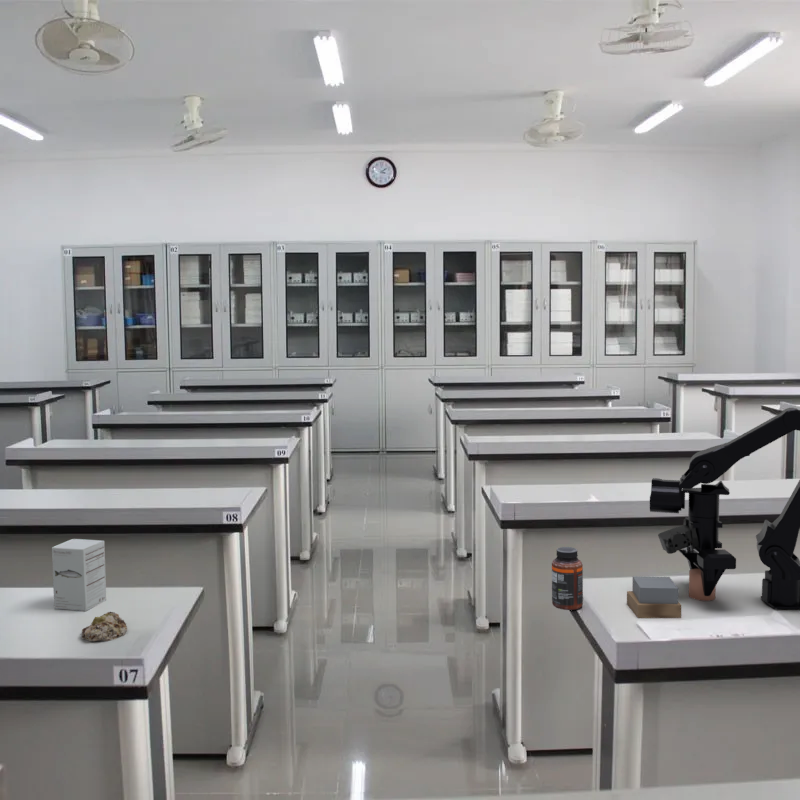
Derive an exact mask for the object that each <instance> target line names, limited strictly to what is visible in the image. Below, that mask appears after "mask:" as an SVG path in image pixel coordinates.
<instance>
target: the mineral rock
mask: <svg viewBox="0 0 800 800" xmlns="http://www.w3.org/2000/svg"><path fill="white" fill-rule="evenodd" d="M127 632H128V626H127V623H126V622H125V620H124V619H122V617H120V615H119V613H116V612H114V611H108V612H106V613H104V614H103V615H100V616H95V617H94V618H93V620H92V622H91V624H90V625H87V626H86V627H84V628H83V629H81V638H82V640H87V641H88V642H97V641H103V642H110V641H113V640H116V639H117V638H120V637H124V636H126V633H127Z"/></svg>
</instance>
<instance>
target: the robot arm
mask: <svg viewBox="0 0 800 800" xmlns="http://www.w3.org/2000/svg"><path fill="white" fill-rule="evenodd" d="M794 431H799V432H800V409H798V408H796V407H787V408H785V409H783V410H782V412H780V413H779V414H776V415H775V416H773V417H771V418H769V419H767V420H766V421H764V422H763V423H761V424H758V425H757V426H755V427H753V428H752V429H750V430H748V431H746V432H744V433H743V434H741V435H739V436H737V437H734V439H732V440H730V441H728V442H727V441H726V442H725V443H721V444H718V445H715V446H711V447H708V448H706V449H703V450H700V451H697V452H696V453H694V454H693V455H692V456H691V457H690V460H689V464H688V469H687V470H686V471H685V472H684V473H683V474H682V475H681V477H680V478H679V480H677V479H674V480H673V479H662V478H658V477H657V478H656V477H652V479H651V486H650V487H651V488H650V495H649V512H650V513H664V514H665V513H666V514H667V513H668V514H680V511H682V510H686V509H685V508H686V494H688V508H687V509H688V517H687V516H685V518H684V519H683V524H682V525H680V526H675V527H672V528H669V529H668V530H664V531H662V532H660V533H658V534H657V536H658V539H659V542H660V545H661V548H662V550H663V551H665V552H666V553H667V554H669V555H671V554H675V553H677V552H679V553H680V554H681V556H683V557H684V558H686V560H687V563H688V566H689V571H690V570H691V569H700V571H701V578H702V586H703V592H704V595H705V596H710V595H711V593H712V591H713V590H714V588H715V586H717V584H718V583H719V581H720V579H721V577H722V576H723V574H724V573H725V571H726V570H736V569H737V558H736V557H735V556H734V554H732V553H731V552H729V551H728V550H726V549H723V543H722V541H719V540H720V539H719V534H720V532H719V531H720V529H722V528H723V522H722V521H720V495H721V496H729V495H730V493H731V492H730V488H728V487H727V486H726V485H725V484H724V483H723V481H722V480H719V481H718V482H717V483H716V484H712V483H713V482H715V481H716V480H718V479H719V478H720V477H722V476H723V475H724V474H726V472H727V471H729V470H730V469H731V468H732V467H733V466H734V465H736V463H738V462H739V461H740V460H742V459H744V458H745V457H747V456H750V455H751V454H753V453H755V452H757V451H758V450H760V449H762V448H764V447H766V446H767V445H770V444H771V443H774V442H775V441H777V440H779V439H781V438H783V437H784V436H786V435H788V434H789V433H791V432H794ZM699 484H700V487H697V486H698V485H699ZM799 532H800V479H799V480H798V482H797V484H796V486H795V488H794V489H793V491H792V492H791V494H790V496H789V498H788V500H787V502H786V503H785V506H784V507H783V508H782V511H781V513H780V515H779V516H777V517H776V519H775V520H774V521H773V522H770V521H769V520H768V519H764V521H763V525H762V528H761V530H760V531H759V533H757V534H756V535H755V538H756V549H757V554H758V557H759V560H760V561H761V563H762V564H763V565H765V566H766V567H767V568H769V569H768V570H764V577H763V578H762V580H761V582H762V583H761V595H760V600H762V601H763V603H764V602H765V604H767V605H768V606H770V607H771V608H772V609H775V610H800V558H799V557H798V556H797V555H796V554H795V553H794V552H795V548H796V546H797V541H798V538H799V537H798V536H799Z"/></svg>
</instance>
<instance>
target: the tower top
mask: <svg viewBox="0 0 800 800" xmlns="http://www.w3.org/2000/svg"><path fill="white" fill-rule="evenodd" d="M631 591H633V593H634V595H635V596H636V598H637V600H638V601H639V603H646V604H678V602H679V587H678V586H677V585H676V583H675V582H674V581H673V580H672V578H671V577H670V576H649V575H648V576H643V575H642V576H641V575H640V576H637V575H633V576H632V590H631Z"/></svg>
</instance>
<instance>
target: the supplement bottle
mask: <svg viewBox="0 0 800 800" xmlns="http://www.w3.org/2000/svg"><path fill="white" fill-rule="evenodd" d="M578 556H579V555H578V549H577V548H575V547H572V546H561V547H560V546H559V547H557V548H556V558H554V559H553V560H552V562H551V601H552V602H551V603H552V606H553V607H555V608H556V609H558V610H564V611H573V610H579V609H580V608H582V607H583V605H584V602H583V601H584V591H583V590H584V586H583V585H584V581H583V580H584V579H583V578H584V577H583V576H584V574H583V573H584V571H583V569H584V568H583V562H582V561H581V560H580V559H579V557H578Z"/></svg>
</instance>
